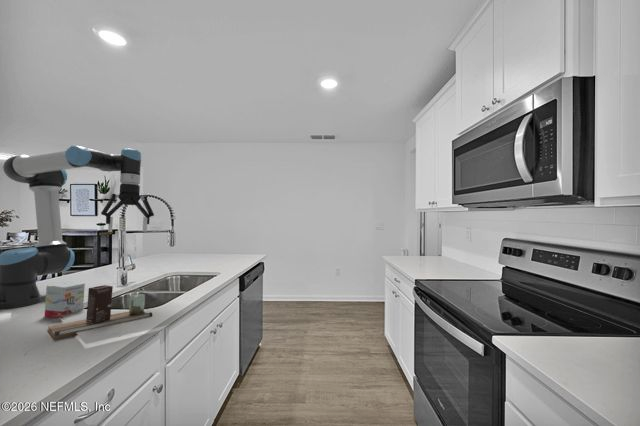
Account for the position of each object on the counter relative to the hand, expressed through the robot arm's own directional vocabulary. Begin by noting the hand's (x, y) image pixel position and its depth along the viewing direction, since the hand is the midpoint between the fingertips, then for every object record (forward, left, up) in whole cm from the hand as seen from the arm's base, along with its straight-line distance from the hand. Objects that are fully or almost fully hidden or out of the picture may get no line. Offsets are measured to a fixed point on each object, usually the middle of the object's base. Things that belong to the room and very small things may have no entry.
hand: (128, 231), depth 135 cm
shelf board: (+24, -14, -32) cm, 42 cm away
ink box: (+1, -21, -32) cm, 38 cm away
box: (+23, -15, -31) cm, 41 cm away
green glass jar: (+23, -3, -30) cm, 38 cm away
